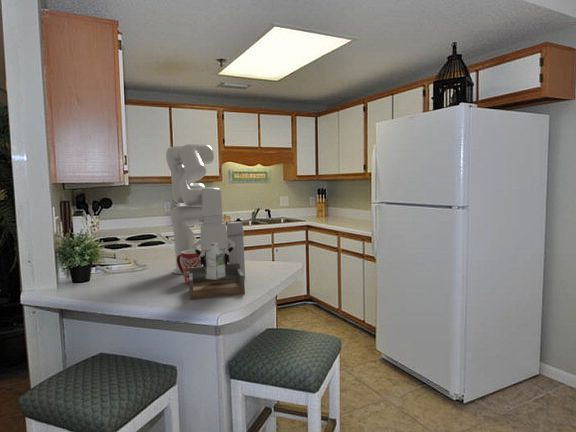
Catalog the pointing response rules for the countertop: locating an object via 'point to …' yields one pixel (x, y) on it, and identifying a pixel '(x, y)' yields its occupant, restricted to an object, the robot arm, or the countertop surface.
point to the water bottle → (238, 251)
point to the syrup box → (215, 263)
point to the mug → (188, 262)
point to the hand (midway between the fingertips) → (215, 265)
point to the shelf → (216, 283)
